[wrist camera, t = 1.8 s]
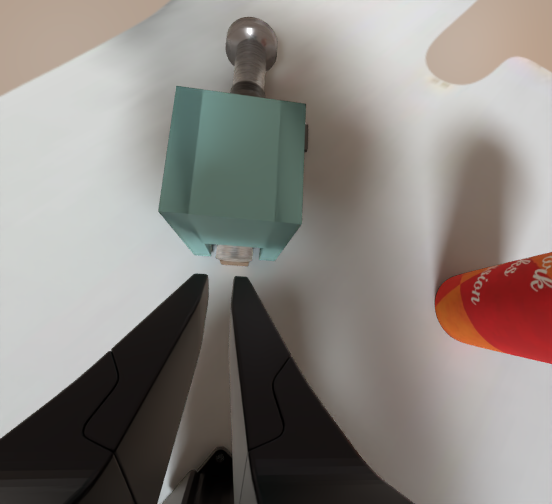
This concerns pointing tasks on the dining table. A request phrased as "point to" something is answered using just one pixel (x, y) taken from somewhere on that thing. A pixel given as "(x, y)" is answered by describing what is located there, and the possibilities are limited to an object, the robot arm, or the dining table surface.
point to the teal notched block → (234, 171)
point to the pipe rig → (249, 90)
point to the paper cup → (501, 307)
